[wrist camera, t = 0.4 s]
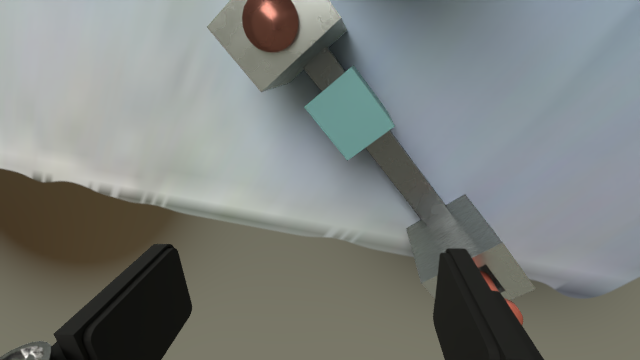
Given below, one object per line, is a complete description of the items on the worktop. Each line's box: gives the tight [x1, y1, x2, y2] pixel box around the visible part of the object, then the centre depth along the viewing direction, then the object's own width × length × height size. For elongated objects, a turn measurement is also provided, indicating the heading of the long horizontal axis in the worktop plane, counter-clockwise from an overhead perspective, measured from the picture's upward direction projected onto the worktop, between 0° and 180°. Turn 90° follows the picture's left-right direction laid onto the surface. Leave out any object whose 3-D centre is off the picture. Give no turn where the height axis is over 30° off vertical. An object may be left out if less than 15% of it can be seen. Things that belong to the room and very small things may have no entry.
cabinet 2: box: [406, 195, 535, 300], centre depth 32 cm, size 8×6×10 cm
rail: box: [304, 47, 450, 226], centre depth 33 cm, size 3×22×2 cm, turn 40°
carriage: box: [304, 65, 395, 161], centre depth 29 cm, size 5×6×8 cm
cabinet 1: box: [207, 0, 347, 92], centre depth 26 cm, size 8×6×11 cm
